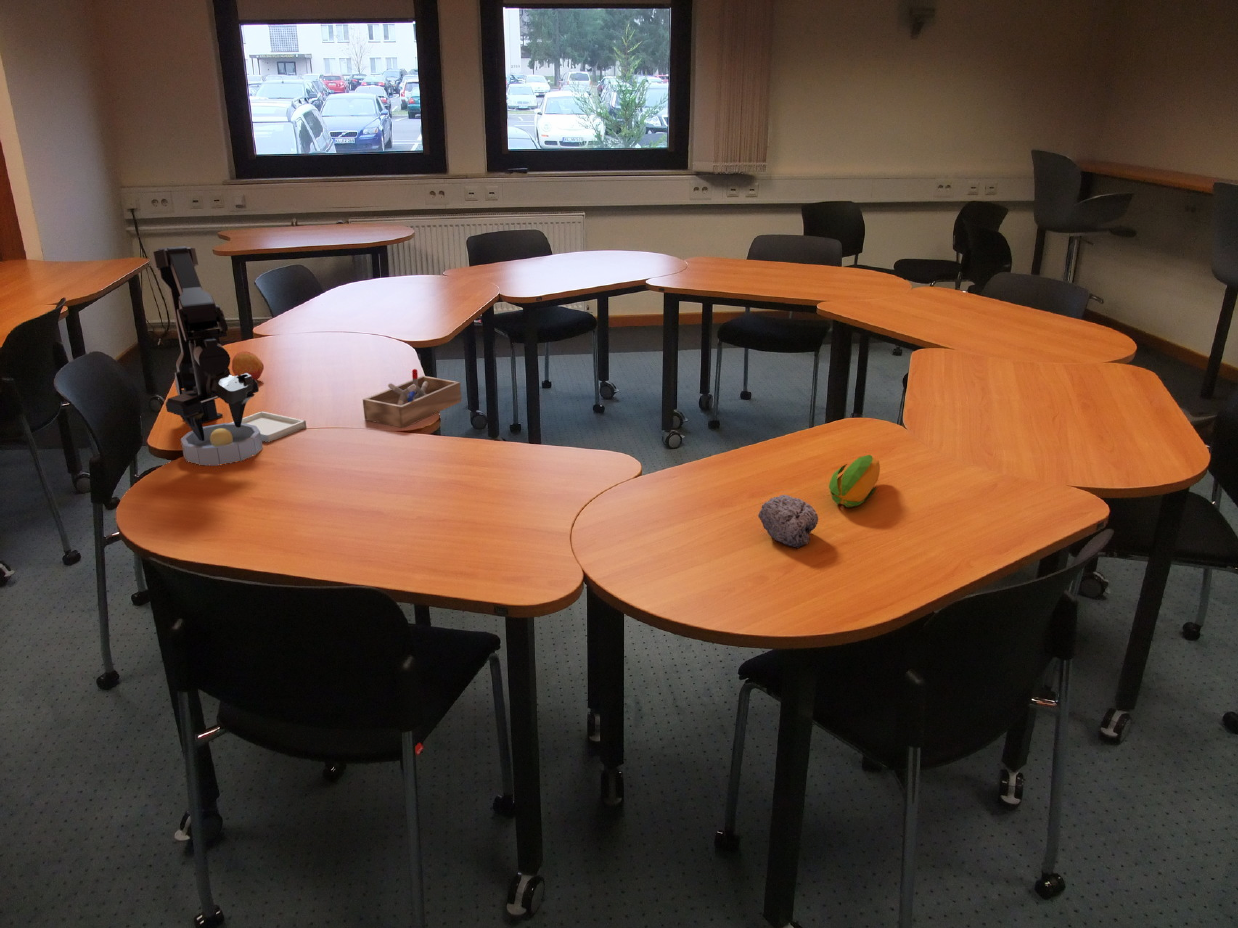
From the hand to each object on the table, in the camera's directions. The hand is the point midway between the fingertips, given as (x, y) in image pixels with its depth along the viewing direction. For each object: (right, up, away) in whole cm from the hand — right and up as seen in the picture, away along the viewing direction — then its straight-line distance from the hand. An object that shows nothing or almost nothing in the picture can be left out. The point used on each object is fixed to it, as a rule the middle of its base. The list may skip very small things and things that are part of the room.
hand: (220, 433), depth 190 cm
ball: (0, -1, 0) cm, 1 cm away
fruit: (-14, +15, +49) cm, 53 cm away
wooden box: (+35, +7, +27) cm, 45 cm away
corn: (+129, -13, -18) cm, 131 cm away
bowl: (0, -4, +1) cm, 4 cm away
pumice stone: (+113, -20, -36) cm, 120 cm away
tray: (+4, +1, +14) cm, 15 cm away
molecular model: (+35, +6, +27) cm, 44 cm away
